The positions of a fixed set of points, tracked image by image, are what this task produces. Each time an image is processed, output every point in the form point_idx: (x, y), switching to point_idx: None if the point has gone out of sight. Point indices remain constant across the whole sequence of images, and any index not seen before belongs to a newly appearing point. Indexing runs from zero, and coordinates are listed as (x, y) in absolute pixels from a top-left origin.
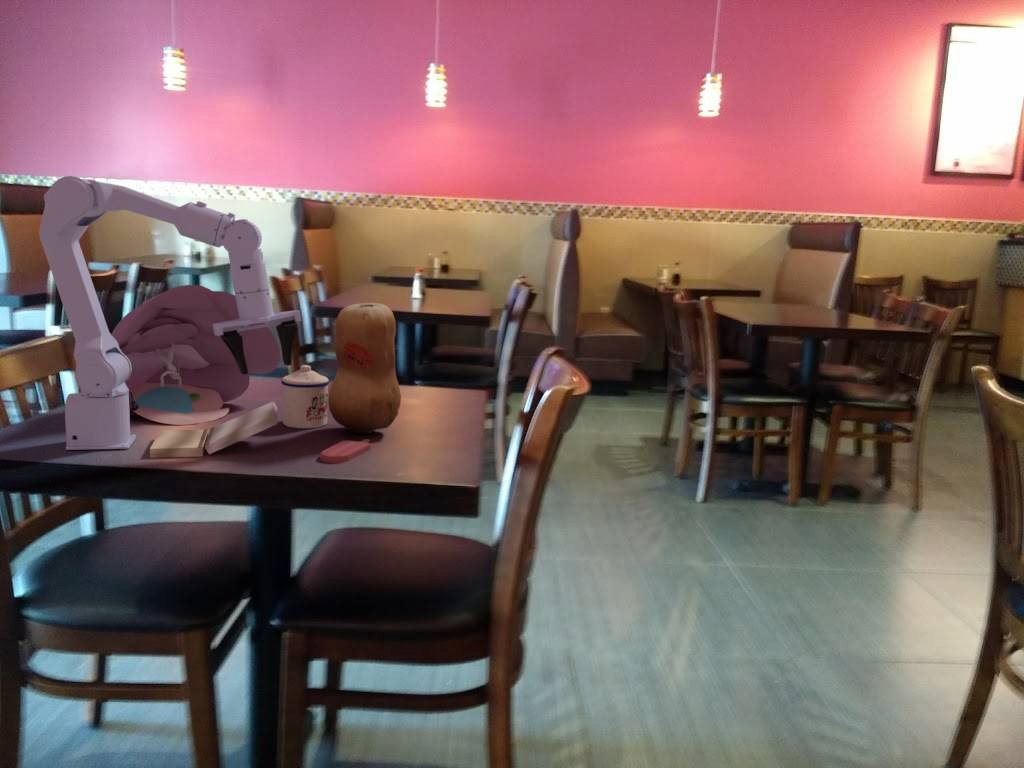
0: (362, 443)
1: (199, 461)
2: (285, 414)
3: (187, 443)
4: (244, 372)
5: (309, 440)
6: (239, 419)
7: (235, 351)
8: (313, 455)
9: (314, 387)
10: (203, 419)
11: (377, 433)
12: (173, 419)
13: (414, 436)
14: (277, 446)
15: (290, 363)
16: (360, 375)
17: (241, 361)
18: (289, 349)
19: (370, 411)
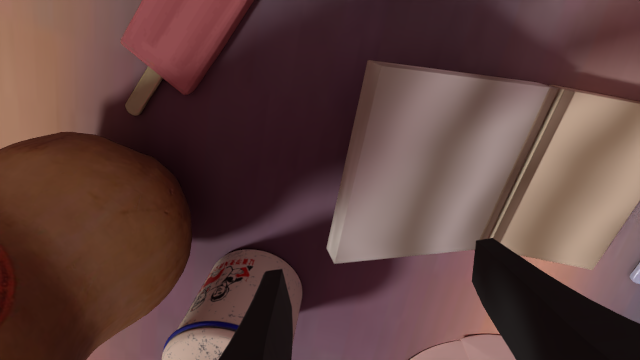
0: (139, 42)
1: (575, 38)
2: (295, 295)
3: (581, 141)
4: (497, 241)
5: (266, 158)
6: (433, 220)
7: (624, 317)
8: (277, 16)
9: (206, 321)
10: (450, 353)
11: None
12: (513, 357)
13: (23, 127)
14: (348, 127)
15: (267, 275)
16: (6, 215)
17: (540, 275)
18: (253, 327)
19: (71, 136)
